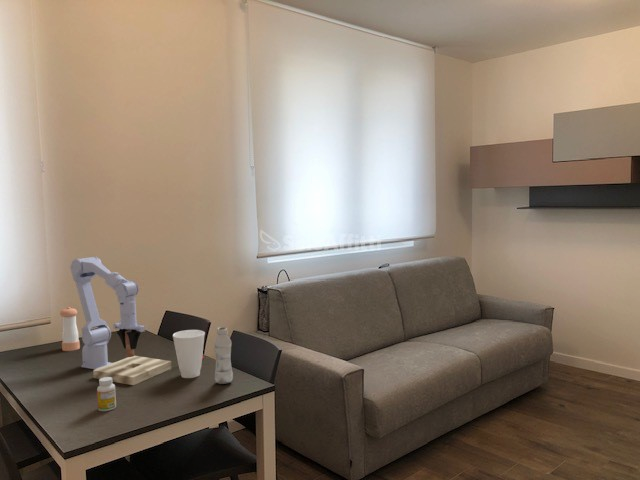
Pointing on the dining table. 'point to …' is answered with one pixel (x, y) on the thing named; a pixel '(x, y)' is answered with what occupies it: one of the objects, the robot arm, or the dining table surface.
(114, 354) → the dining table surface
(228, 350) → the plastic bottle
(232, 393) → the dining table surface
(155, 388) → the dining table surface
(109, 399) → the supplement bottle
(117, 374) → the socket block
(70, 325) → the salt shaker
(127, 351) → the peg
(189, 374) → the cup
